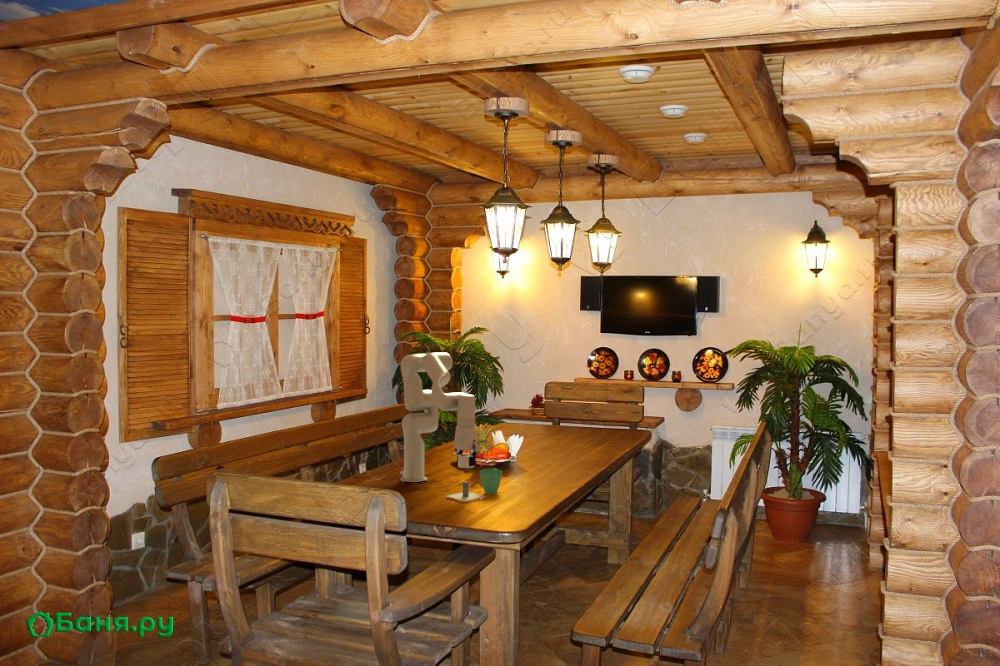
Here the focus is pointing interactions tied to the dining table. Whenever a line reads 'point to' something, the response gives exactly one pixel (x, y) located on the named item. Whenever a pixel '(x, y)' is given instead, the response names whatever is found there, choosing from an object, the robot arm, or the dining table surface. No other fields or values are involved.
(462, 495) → the square base peg stand
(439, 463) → the dining table surface
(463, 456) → the white hollow cylinder
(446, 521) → the dining table surface
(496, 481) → the mug
